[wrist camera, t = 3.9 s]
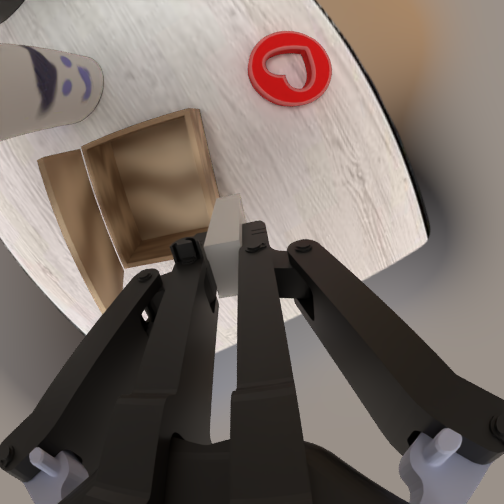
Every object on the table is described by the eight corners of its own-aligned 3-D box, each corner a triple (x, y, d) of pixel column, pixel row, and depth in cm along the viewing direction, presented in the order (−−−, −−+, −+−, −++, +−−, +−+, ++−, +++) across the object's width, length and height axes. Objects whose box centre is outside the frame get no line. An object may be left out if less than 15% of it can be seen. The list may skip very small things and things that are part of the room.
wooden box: (107, 138, 31) (81, 146, 25) (199, 109, 30) (188, 108, 24) (140, 243, 38) (124, 268, 32) (226, 225, 38) (223, 249, 32)
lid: (80, 149, 24) (75, 151, 24) (42, 157, 14) (35, 160, 13) (123, 271, 31) (119, 272, 31) (121, 335, 21) (115, 337, 21)
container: (114, 98, 28) (5, 104, 11) (61, 136, 30) (-43, 175, 12) (91, 43, 24) (-11, 20, 6) (42, 84, 25) (-61, 95, 8)
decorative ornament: (331, 48, 27) (339, 43, 24) (316, 114, 31) (323, 115, 28) (256, 29, 26) (257, 22, 23) (240, 97, 30) (240, 96, 27)
